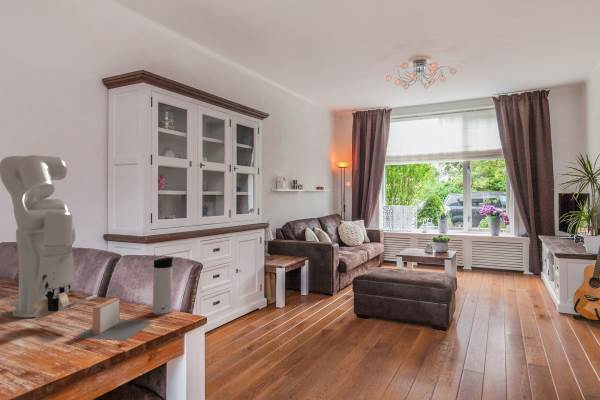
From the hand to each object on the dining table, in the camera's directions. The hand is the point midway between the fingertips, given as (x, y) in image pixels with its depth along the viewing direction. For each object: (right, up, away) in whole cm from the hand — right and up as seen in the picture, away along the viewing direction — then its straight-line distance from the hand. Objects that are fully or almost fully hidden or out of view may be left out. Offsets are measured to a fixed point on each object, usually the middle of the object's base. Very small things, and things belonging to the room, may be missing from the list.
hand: (57, 308), depth 118 cm
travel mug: (+28, -6, +15) cm, 32 cm away
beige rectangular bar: (+2, 0, 0) cm, 3 cm away
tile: (+16, -5, -2) cm, 17 cm away
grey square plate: (+19, -6, -2) cm, 20 cm away
